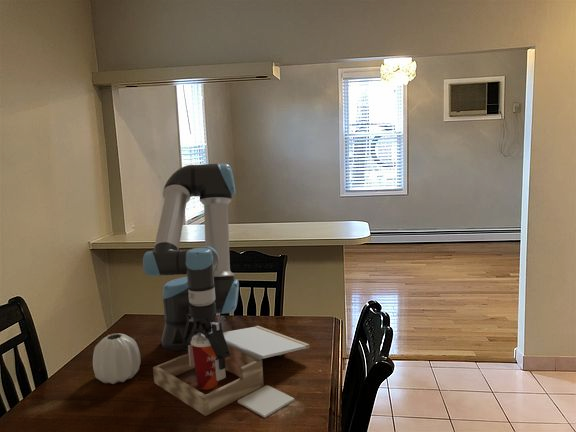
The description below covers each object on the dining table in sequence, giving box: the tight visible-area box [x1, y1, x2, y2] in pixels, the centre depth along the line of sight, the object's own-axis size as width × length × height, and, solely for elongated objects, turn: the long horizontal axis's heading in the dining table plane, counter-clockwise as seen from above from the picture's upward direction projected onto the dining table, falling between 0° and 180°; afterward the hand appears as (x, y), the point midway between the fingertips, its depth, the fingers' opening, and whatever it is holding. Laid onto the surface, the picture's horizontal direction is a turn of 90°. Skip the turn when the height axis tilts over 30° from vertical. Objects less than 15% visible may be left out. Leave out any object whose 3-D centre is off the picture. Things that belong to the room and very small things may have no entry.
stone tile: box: [237, 385, 295, 419], centre depth 127 cm, size 11×11×1 cm
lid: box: [222, 325, 310, 361], centre depth 151 cm, size 26×22×5 cm
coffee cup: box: [191, 331, 219, 391], centre depth 137 cm, size 8×8×15 cm
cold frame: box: [152, 347, 264, 417], centre depth 137 cm, size 26×20×8 cm
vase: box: [92, 332, 142, 385], centre depth 143 cm, size 14×14×13 cm
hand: (207, 371), depth 137 cm, fingers open, 13 cm apart
